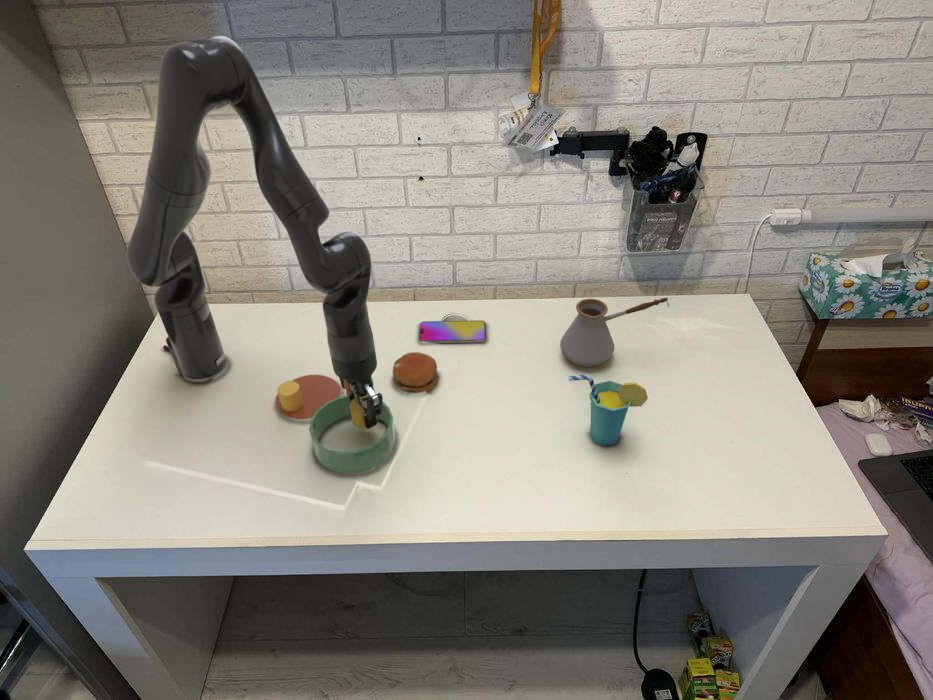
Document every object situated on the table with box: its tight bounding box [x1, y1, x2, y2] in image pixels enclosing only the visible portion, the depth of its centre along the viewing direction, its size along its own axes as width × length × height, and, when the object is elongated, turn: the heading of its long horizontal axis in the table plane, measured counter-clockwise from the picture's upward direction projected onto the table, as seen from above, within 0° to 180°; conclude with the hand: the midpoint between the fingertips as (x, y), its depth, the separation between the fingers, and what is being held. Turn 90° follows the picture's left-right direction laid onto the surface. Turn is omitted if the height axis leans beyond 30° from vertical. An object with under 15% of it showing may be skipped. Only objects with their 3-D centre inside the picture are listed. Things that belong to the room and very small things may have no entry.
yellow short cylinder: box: [350, 396, 378, 429], centre depth 120 cm, size 5×5×4 cm
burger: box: [392, 351, 439, 393], centre depth 136 cm, size 10×9×5 cm
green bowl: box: [308, 394, 396, 474], centre depth 121 cm, size 15×15×6 cm
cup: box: [568, 374, 648, 447], centre depth 119 cm, size 14×8×15 cm, turn 84°
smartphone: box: [418, 320, 487, 344], centre depth 148 cm, size 7×1×15 cm
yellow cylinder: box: [277, 380, 303, 412], centre depth 129 cm, size 4×4×4 cm
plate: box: [275, 374, 342, 420], centre depth 133 cm, size 13×13×1 cm
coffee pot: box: [559, 297, 671, 368], centre depth 137 cm, size 21×12×15 cm, turn 89°
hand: (364, 417), depth 121 cm, fingers closed on yellow short cylinder, 4 cm apart
